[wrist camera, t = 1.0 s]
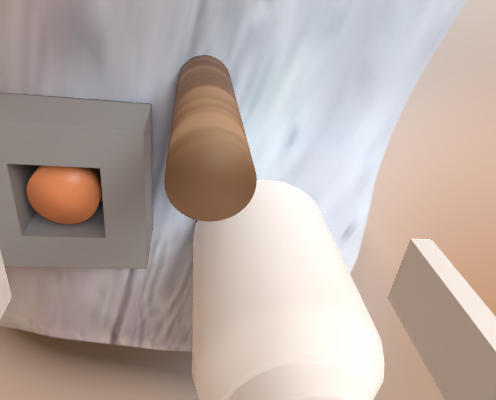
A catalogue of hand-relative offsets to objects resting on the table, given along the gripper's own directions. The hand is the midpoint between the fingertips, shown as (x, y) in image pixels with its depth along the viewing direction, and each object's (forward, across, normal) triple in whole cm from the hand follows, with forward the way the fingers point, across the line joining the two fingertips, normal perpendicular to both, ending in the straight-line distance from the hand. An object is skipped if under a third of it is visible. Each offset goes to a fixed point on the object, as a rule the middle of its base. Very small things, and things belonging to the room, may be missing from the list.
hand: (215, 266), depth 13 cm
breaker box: (+21, -10, -8) cm, 25 cm away
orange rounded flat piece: (+19, -10, -8) cm, 22 cm away
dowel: (+21, 0, 0) cm, 21 cm away
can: (+22, +6, -14) cm, 26 cm away
